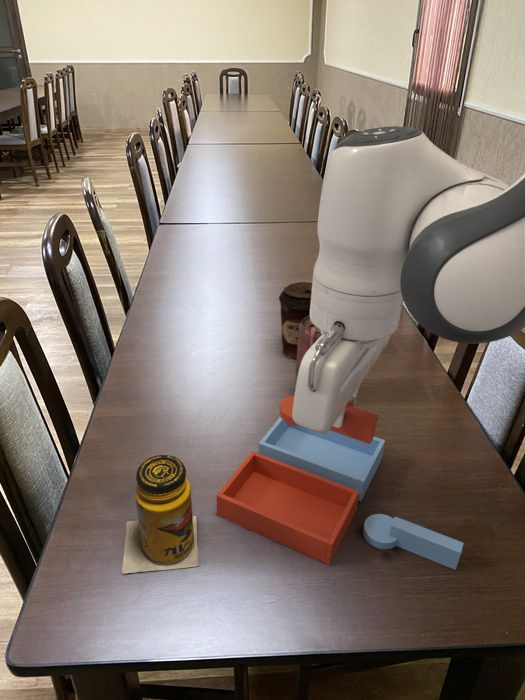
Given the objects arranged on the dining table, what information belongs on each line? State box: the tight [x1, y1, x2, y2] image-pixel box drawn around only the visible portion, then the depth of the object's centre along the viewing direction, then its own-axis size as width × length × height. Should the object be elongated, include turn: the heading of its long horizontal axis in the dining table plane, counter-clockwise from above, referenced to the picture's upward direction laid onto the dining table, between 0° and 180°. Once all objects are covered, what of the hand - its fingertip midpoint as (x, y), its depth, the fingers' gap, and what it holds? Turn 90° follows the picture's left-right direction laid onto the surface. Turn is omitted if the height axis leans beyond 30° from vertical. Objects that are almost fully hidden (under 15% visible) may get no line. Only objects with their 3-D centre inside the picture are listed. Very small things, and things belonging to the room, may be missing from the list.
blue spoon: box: [362, 513, 464, 571], centre depth 63 cm, size 11×4×3 cm, turn 62°
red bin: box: [215, 450, 359, 566], centre depth 67 cm, size 15×9×4 cm, turn 62°
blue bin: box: [258, 416, 386, 502], centre depth 75 cm, size 15×9×4 cm, turn 62°
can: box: [294, 316, 322, 390], centre depth 86 cm, size 6×6×14 cm
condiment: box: [121, 454, 199, 575], centre depth 60 cm, size 7×8×12 cm
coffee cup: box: [278, 281, 312, 360], centre depth 98 cm, size 9×8×13 cm
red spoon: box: [279, 394, 379, 444], centre depth 61 cm, size 11×4×3 cm, turn 62°
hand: (340, 415), depth 60 cm, fingers closed on red spoon
